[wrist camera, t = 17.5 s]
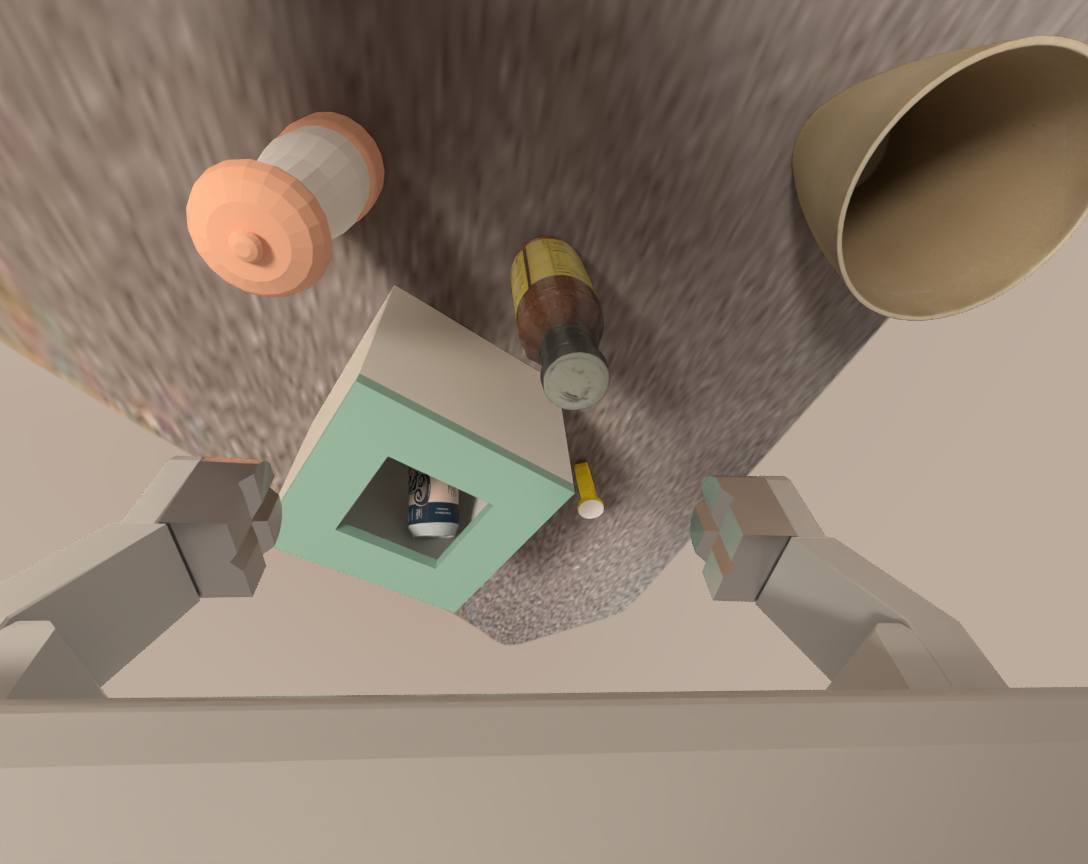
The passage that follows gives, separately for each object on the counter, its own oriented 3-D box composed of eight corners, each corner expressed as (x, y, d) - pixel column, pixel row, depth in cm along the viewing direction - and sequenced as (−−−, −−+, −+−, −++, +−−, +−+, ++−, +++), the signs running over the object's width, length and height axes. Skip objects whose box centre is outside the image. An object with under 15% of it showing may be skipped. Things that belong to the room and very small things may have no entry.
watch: (566, 457, 61) (571, 490, 56) (590, 451, 61) (597, 484, 56) (579, 496, 65) (584, 531, 60) (601, 490, 64) (609, 525, 59)
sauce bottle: (539, 314, 50) (557, 449, 35) (495, 262, 47) (492, 385, 31) (598, 271, 48) (645, 393, 32) (555, 213, 45) (586, 318, 29)
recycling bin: (312, 422, 56) (256, 541, 43) (394, 284, 48) (356, 381, 35) (463, 492, 63) (454, 612, 51) (557, 383, 55) (574, 493, 42)
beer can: (410, 406, 52) (409, 535, 49) (460, 409, 53) (463, 533, 50) (406, 421, 56) (405, 540, 53) (453, 423, 58) (454, 538, 54)
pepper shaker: (398, 204, 44) (343, 303, 29) (311, 223, 44) (212, 330, 29) (363, 101, 40) (278, 153, 24) (267, 122, 40) (124, 187, 25)
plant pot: (891, -26, 37) (1094, -49, 24) (961, 150, 44) (1146, 203, 31) (706, 143, 43) (793, 196, 30) (794, 275, 50) (895, 363, 37)
